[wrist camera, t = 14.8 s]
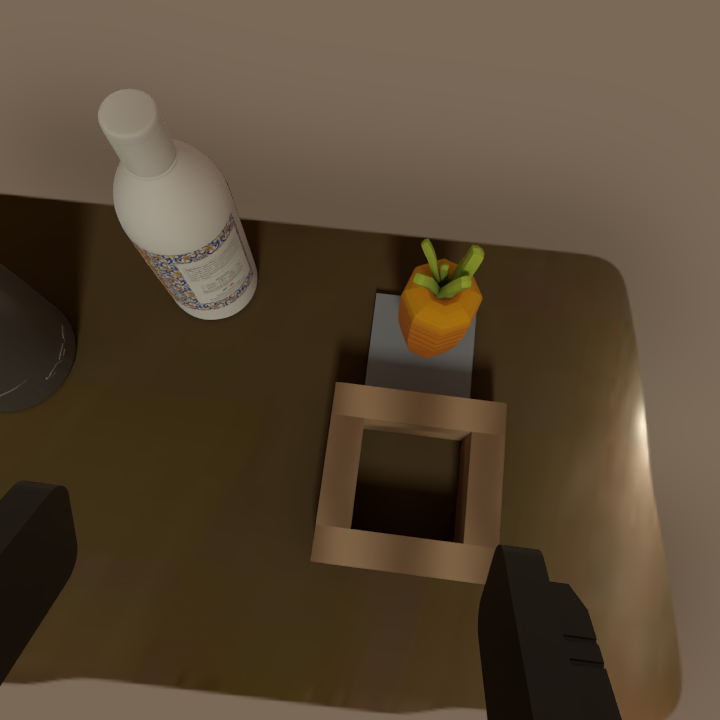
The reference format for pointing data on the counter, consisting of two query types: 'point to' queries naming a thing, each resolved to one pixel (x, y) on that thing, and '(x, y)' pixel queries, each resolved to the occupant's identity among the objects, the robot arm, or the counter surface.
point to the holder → (474, 495)
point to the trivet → (415, 358)
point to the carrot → (439, 302)
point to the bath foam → (177, 210)
